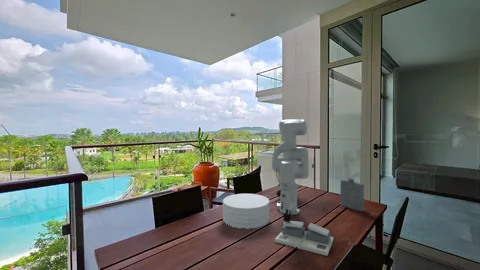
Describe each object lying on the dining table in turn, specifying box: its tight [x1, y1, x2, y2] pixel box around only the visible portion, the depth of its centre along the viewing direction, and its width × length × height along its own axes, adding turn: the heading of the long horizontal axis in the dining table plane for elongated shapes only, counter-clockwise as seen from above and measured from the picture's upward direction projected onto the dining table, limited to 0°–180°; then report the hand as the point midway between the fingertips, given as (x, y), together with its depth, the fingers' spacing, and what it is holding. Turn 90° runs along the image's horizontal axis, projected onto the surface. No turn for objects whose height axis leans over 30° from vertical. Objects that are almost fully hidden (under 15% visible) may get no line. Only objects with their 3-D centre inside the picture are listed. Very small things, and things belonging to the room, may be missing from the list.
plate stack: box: [222, 193, 270, 230], centre depth 140 cm, size 28×28×12 cm
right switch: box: [307, 222, 330, 236], centre depth 110 cm, size 9×4×1 cm, turn 59°
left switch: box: [283, 220, 305, 228], centre depth 117 cm, size 9×4×1 cm, turn 59°
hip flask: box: [339, 177, 365, 212], centre depth 157 cm, size 16×4×20 cm, turn 34°
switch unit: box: [274, 225, 335, 257], centre depth 112 cm, size 24×16×4 cm, turn 59°
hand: (287, 220), depth 118 cm, fingers closed
